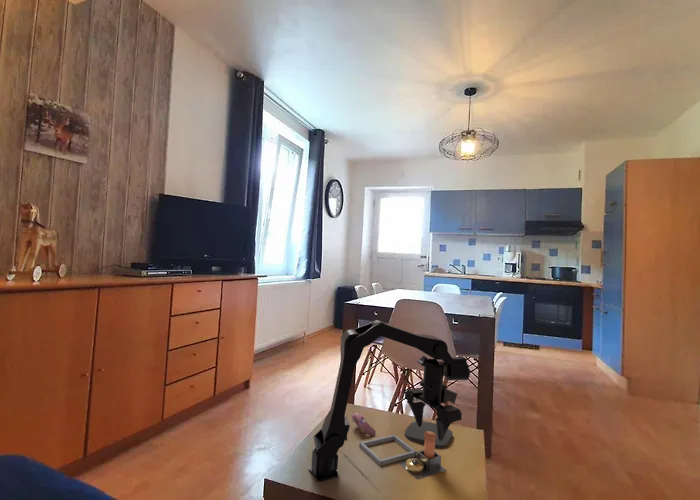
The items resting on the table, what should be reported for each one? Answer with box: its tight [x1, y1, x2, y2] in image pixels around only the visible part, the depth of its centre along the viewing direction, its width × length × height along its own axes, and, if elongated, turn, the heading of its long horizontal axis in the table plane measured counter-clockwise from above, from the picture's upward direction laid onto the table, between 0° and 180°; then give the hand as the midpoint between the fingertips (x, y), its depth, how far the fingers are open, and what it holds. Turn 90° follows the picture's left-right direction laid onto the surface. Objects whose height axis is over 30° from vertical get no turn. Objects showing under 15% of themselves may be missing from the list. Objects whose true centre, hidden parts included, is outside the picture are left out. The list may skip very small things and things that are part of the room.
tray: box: [358, 434, 418, 466], centre depth 113 cm, size 14×12×2 cm
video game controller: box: [351, 412, 376, 437], centre depth 128 cm, size 10×5×7 cm, turn 23°
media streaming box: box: [404, 420, 453, 449], centre depth 126 cm, size 15×15×3 cm
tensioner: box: [397, 449, 448, 480], centre depth 106 cm, size 11×9×4 cm
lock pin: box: [423, 431, 436, 459], centre depth 107 cm, size 4×4×9 cm
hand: (429, 433), depth 107 cm, fingers open, 9 cm apart
